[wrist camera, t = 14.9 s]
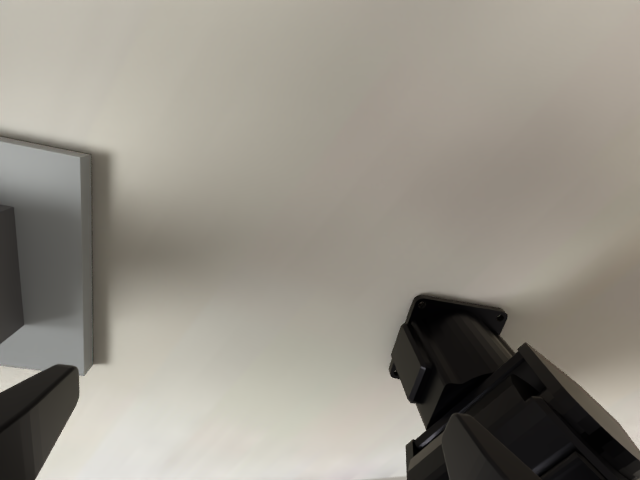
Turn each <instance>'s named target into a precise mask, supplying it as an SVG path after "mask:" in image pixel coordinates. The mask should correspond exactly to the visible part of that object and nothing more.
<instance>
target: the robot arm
mask: <svg viewBox="0 0 640 480" xmlns="http://www.w3.org/2000/svg"><path fill="white" fill-rule="evenodd" d="M420 302H424V303H423V304H422V305H418V304H419V303H420ZM499 315H500V316H499ZM497 316H499V317H498V318H497ZM506 320H507V314H506V313H505V312H504V311H503V310H502V309H500V308H494V307H488V306H482V305H476V304H471V303H465V302H459V301H453V300H447V299H441V298H435V297H430V296H424V295H419V296H417V297H415V298H414V300H413V302H412V305H411V307H410V310H409V313H408V316H407V319H406V321H405V323H404V324H403V325H402V326H401V328H400V331H399V334H398V337H397V339H396V342H395V345H394V348H393V351H392V353H391V356H392V361H391V364H390V366H389V372H390V375H391V377H393V378H396V379H400V380H401V383H402V385H403V388H404V391H405V393H406V396H407V399H408V400H409V401H410V403H416V406H417V408H418V411H419V413H420V416H421V418H422V421H423V423H424V426H425V428H426V431H425V432H424V433H423V434H422V435H420V436H419V437H418V438H417V439H416V440H414V439H413V440H411V441H410V442H409V443H408V444H407V445H406V467H407V480H640V450H639V449H638V448H637V446H636V445H635V444H634V442H633V441H632V440H631V438H630V437H629V436H628V434H627V433H626V432H625V430H624V429H623V428H622V426H621V425H620V424H619V423H618V422H617V420H616V419H614V418H613V417H612V416H611V415H610V414H609V413H608V412H607V411H606V410H605V409H604V408H603V407H602V406H601V405H600V404H599V403H598V402H597V401H596V400H594V399H593V398H592V397H591V396H590V395H589V394H588V393H587V392H586V391H585V390H584V389H583V388H582V387H581V386H580V385H578V384H577V383H576V382H575V381H574V380H572V379H571V378H570V377H569V376H567V375H566V374H565V373H564V372H562V371H561V370H560V369H559V368H557V367H556V366H555V365H554V364H552V363H551V362H550V361H549V360H547V359H546V358H545V357H544V356H542V355H541V354H540V353H539V352H537V351H536V350H535V349H534V348H532V347H531V346H530V345H529V344H527V343H526V342H525V343H524V344H523V345H522V346H520V347H519V348H518V352H517V353H516V354H515V352H514V351H513V350H512V349H511V348H510V347H509V346H508V344H507V343H506V342H505V341H504V340H503V339H502V338H501V337H500V333H501V331H502V329H503V327H504V324H505V322H506ZM395 370H397V371H396V372H394V371H395ZM78 399H79V370H78V368H77V367H76V366H73V365H65V364H56V365H53V366H51V367H49V368H47V369H45V370H43V371H42V372H40V373H38V374H36V375H34V376H32V377H30V378H28V379H26V380H24V381H22V382H20V383H18V384H16V385H14V386H12V387H11V388H9V389H7V390H5V391H3V392H1V393H0V480H35V479H36V477H37V475H38V474H39V472H40V470H41V468H42V467H43V465H44V463H45V461H46V459H47V458H48V456H49V454H50V452H51V450H52V448H53V447H54V445H55V443H56V441H57V439H58V437H59V436H60V434H61V432H62V430H63V428H64V427H65V425H66V423H67V421H68V419H69V417H70V416H71V414H72V412H73V410H74V408H75V406H76V404H77V402H78Z"/></svg>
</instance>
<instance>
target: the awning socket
mask: <svg viewBox="0 0 640 480" xmlns="http://www.w3.org/2000/svg"><path fill="white" fill-rule="evenodd" d="M56 364H65V365H73V366H76V367H77V368H78V370H79V375H81V376H85V374H86V373H87V372H88V370H89V369H90V368H91V367H92V365H93V321H92V197H91V155H90V154H85V153H80V152H75V151H70V150H65V149H60V148H55V147H50V146H45V145H40V144H35V143H30V142H25V141H20V140H15V139H10V138H5V137H0V366H7V367H15V368H23V369H32V370H40V371H43V370H45V369H47V368H49V367H51V366H53V365H56Z"/></svg>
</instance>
